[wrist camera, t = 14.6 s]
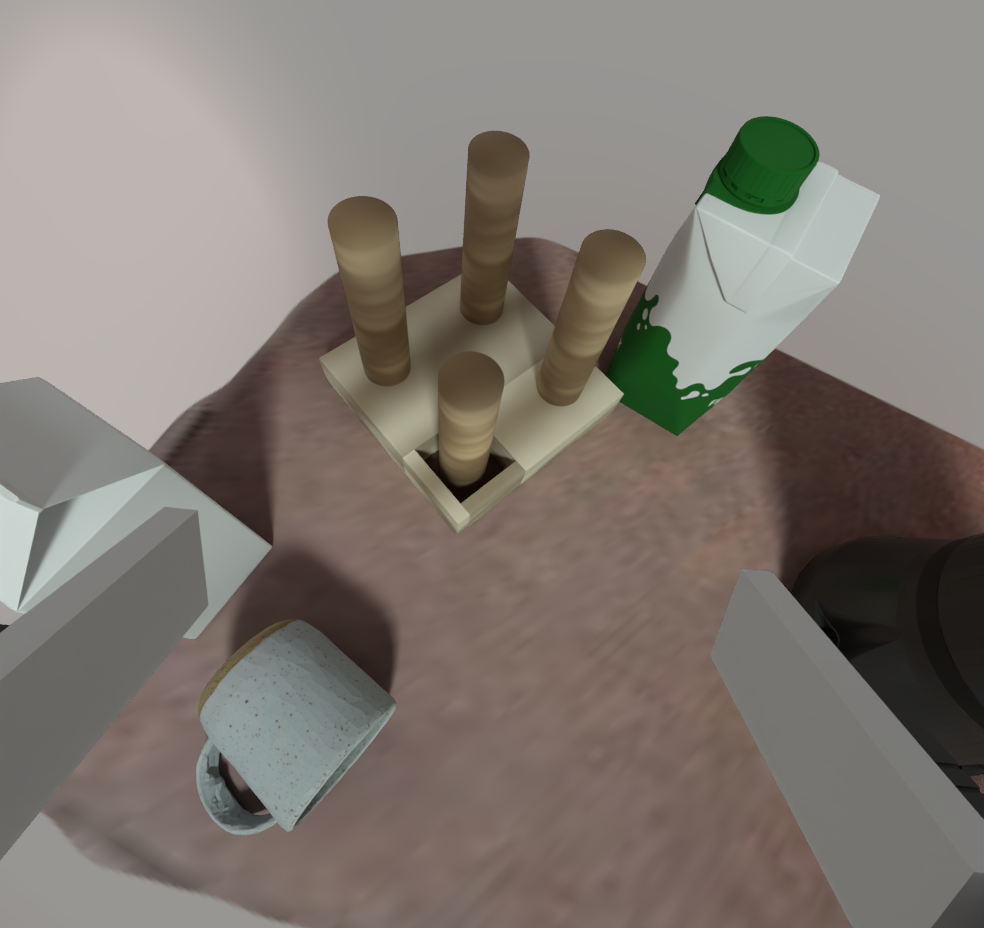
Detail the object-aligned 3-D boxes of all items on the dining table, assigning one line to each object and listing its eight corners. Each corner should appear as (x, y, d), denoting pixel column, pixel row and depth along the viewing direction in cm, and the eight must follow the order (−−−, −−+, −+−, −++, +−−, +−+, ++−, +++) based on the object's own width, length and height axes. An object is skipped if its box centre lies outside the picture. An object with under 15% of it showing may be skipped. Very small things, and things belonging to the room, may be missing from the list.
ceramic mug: (310, 614, 33) (273, 600, 26) (404, 700, 32) (392, 709, 25) (175, 761, 30) (90, 791, 23) (274, 865, 28) (217, 931, 21)
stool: (611, 412, 41) (707, 266, 27) (456, 535, 36) (468, 439, 22) (483, 284, 45) (505, 94, 30) (327, 380, 40) (261, 207, 25)
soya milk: (633, 322, 45) (766, 78, 27) (725, 375, 44) (933, 157, 25) (585, 393, 42) (700, 170, 23) (683, 452, 41) (886, 266, 22)
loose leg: (494, 475, 38) (517, 384, 26) (459, 502, 37) (466, 421, 25) (465, 442, 39) (475, 340, 27) (429, 468, 38) (424, 374, 26)
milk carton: (194, 491, 36) (-42, 315, 18) (274, 547, 35) (107, 417, 17) (112, 578, 33) (-256, 469, 16) (197, 640, 32) (-93, 599, 15)
